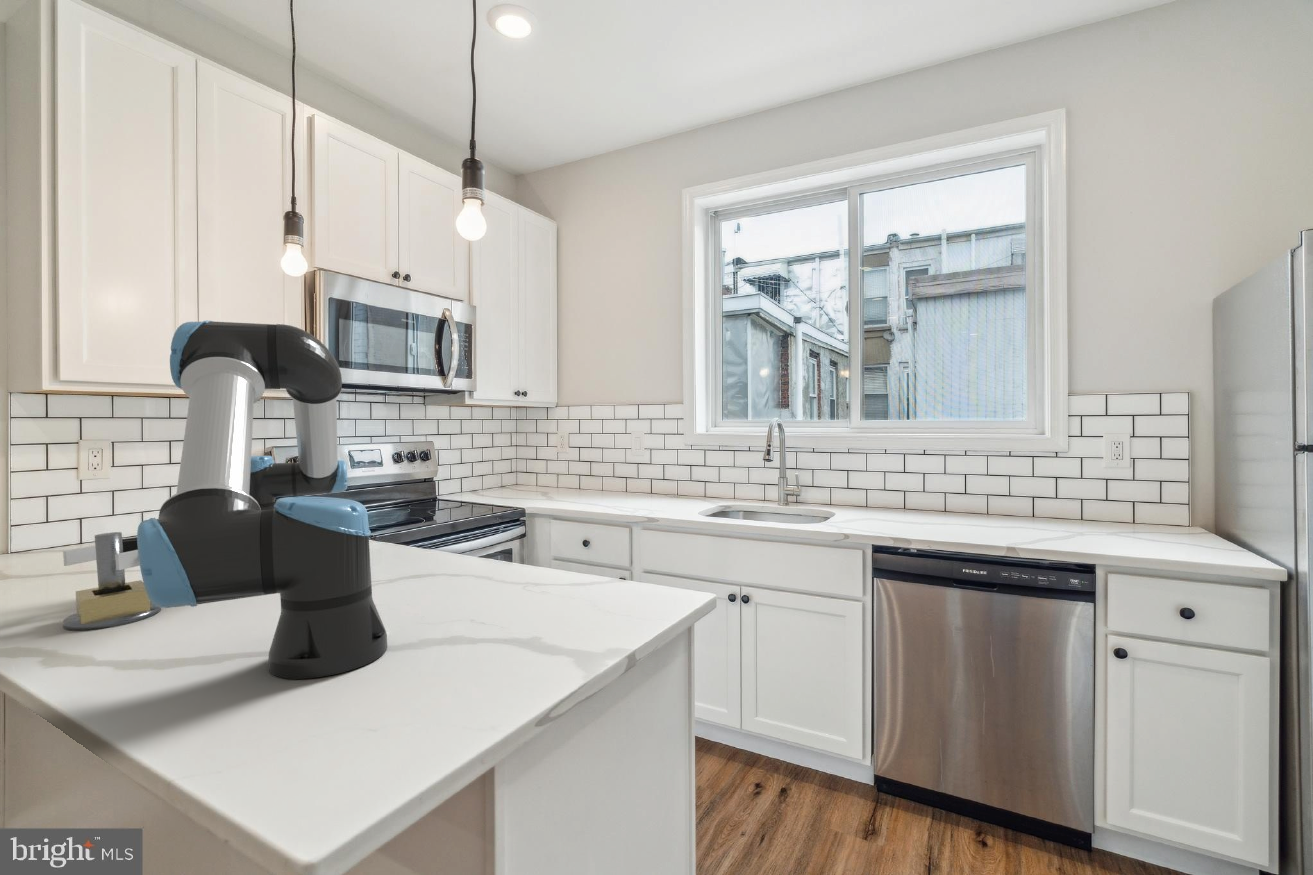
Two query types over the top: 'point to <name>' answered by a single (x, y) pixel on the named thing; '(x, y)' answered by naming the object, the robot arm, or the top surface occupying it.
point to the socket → (110, 608)
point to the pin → (109, 563)
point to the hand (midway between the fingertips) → (90, 560)
